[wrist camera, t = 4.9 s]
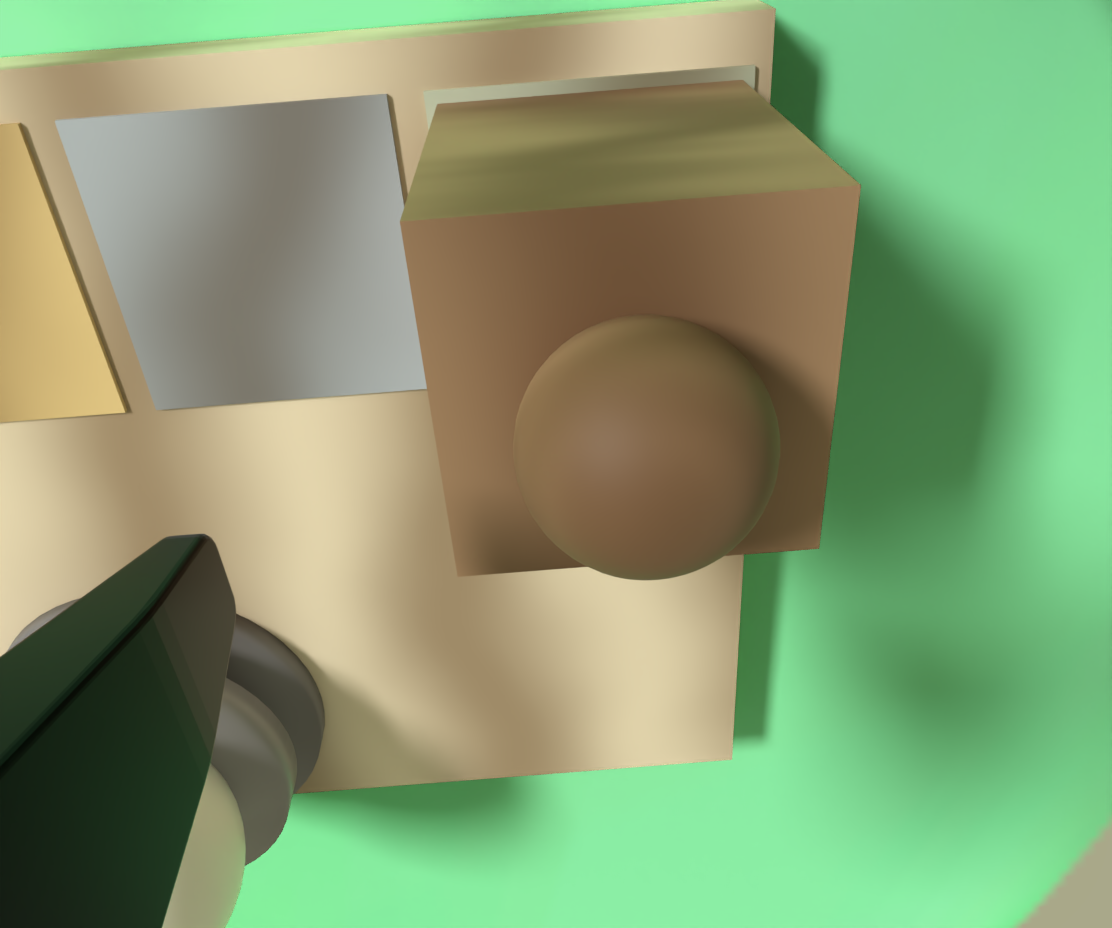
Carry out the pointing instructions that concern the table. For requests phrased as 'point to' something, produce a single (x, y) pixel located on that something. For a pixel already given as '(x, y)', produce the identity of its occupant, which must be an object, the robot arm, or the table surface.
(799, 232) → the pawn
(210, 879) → the dome
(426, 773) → the game board
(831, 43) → the table surface
